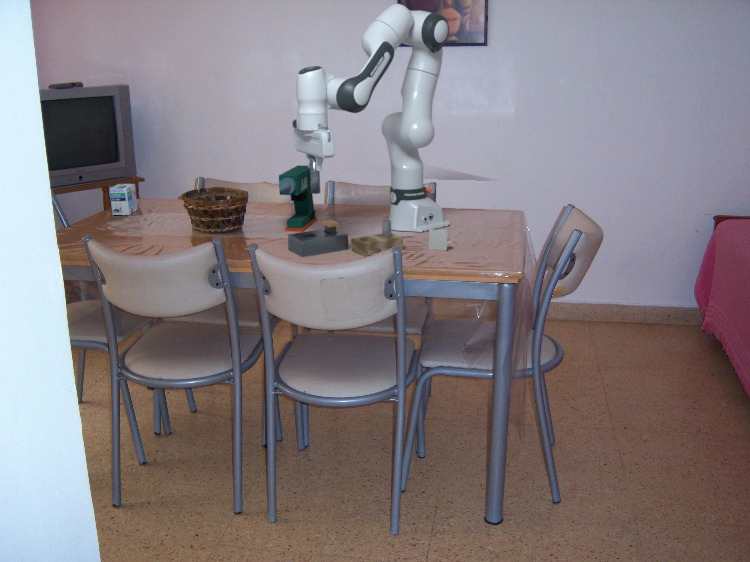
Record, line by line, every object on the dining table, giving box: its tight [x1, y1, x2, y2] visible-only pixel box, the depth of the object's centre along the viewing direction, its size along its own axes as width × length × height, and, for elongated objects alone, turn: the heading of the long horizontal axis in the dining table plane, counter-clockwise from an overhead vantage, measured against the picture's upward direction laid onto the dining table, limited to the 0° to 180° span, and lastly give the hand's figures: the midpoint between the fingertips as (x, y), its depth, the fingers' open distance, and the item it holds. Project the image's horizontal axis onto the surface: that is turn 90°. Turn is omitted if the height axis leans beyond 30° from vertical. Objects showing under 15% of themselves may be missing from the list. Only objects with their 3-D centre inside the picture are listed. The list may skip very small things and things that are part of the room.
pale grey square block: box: [427, 228, 452, 251], centre depth 243 cm, size 3×7×7 cm, turn 91°
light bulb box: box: [109, 183, 138, 216], centre depth 300 cm, size 11×7×11 cm, turn 179°
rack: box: [350, 219, 404, 257], centre depth 244 cm, size 14×8×9 cm, turn 121°
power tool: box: [278, 165, 319, 233], centre depth 270 cm, size 32×7×20 cm, turn 168°
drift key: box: [321, 219, 340, 235], centre depth 248 cm, size 3×5×8 cm, turn 31°
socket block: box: [287, 228, 349, 258], centre depth 246 cm, size 16×10×5 cm, turn 121°
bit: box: [310, 156, 321, 195], centre depth 238 cm, size 3×3×11 cm
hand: (315, 169), depth 238 cm, fingers closed on bit, 3 cm apart
